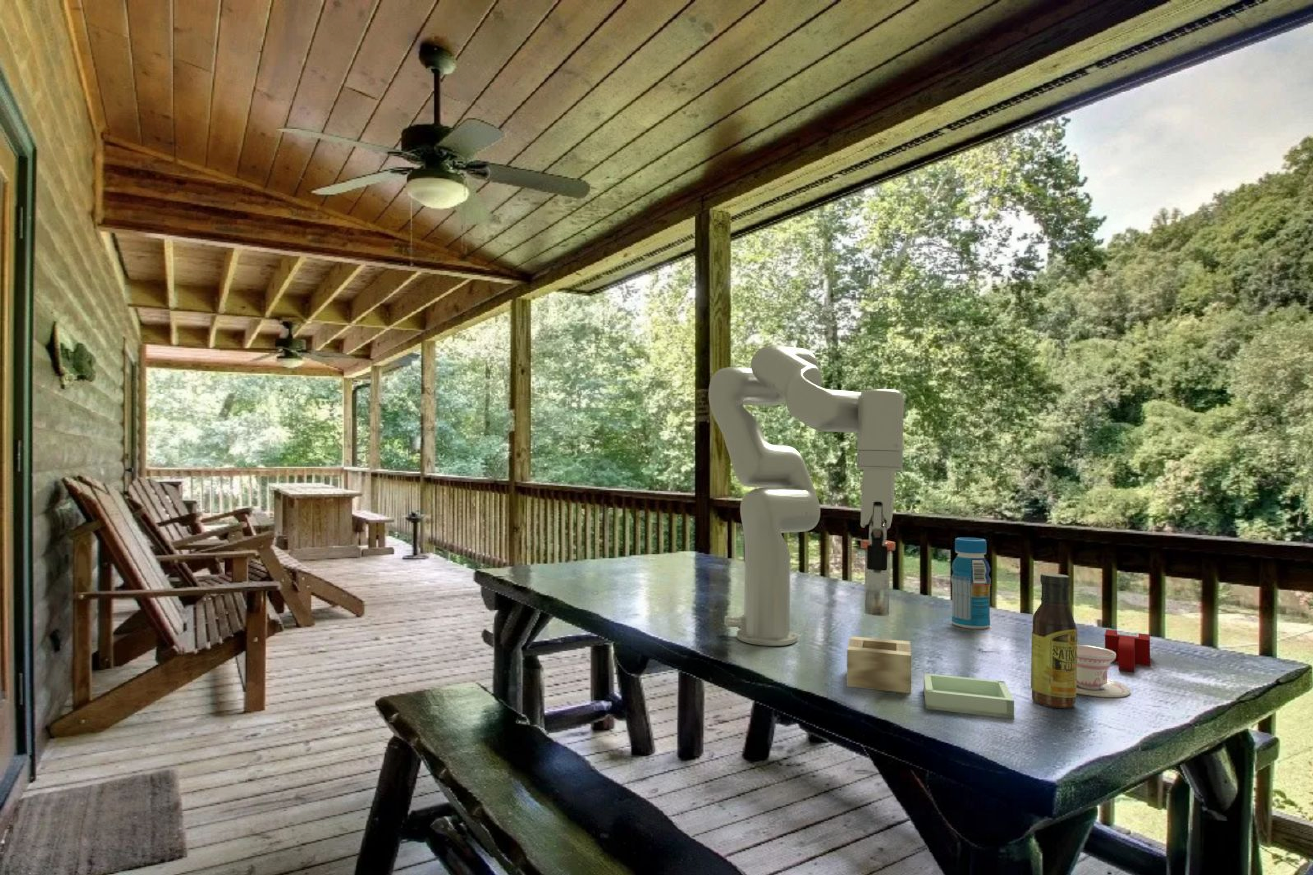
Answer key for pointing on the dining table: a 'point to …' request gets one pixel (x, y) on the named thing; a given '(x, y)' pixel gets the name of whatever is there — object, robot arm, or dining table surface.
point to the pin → (877, 585)
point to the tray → (968, 695)
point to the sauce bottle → (1054, 646)
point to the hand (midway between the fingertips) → (877, 565)
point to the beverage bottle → (971, 584)
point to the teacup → (1097, 672)
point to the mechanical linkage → (1128, 649)
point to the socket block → (879, 664)
